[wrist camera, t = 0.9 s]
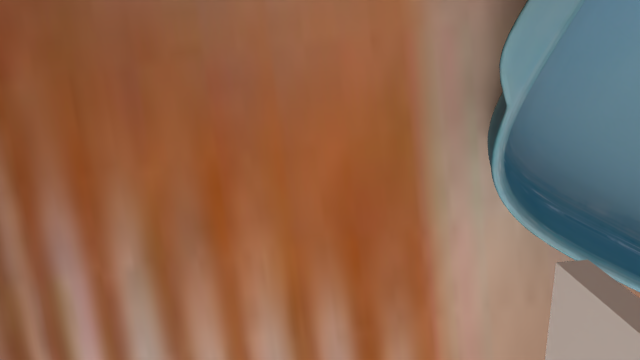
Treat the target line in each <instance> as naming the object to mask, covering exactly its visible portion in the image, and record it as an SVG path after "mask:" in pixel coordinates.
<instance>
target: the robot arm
mask: <svg viewBox="0 0 640 360" xmlns="http://www.w3.org/2000/svg"><path fill="white" fill-rule="evenodd" d="M545 360H640V298H638V297H637V296H636V295H634V294H633V293H632V292H630V291H629V290H628V289H626V288H625V287H624V286H622V285H621V284H620V283H618V282H617V281H616V280H614V279H613V278H612V277H610V276H609V275H608V274H606V273H605V272H604V271H602V270H601V269H600V268H598V267H597V266H596V265H594V264H593V263H592V262H591V261H589V260H578V261H568V262H557V263H556V268H555V277H554V286H553V294H552V303H551V312H550V321H549V330H548V338H547V347H546V356H545Z"/></svg>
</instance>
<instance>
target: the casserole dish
mask: <svg viewBox="0 0 640 360" xmlns="http://www.w3.org/2000/svg"><path fill="white" fill-rule="evenodd" d="M499 66H500V82H501V86H502V90H503V93H502V95H501V97H500V98H499V101H498V103H497V105H496V107H495V109H494V112H493V115H492V118H491V122H490V127H489V131H488V155H489V160H490V165H491V171H492V178H493V182H494V185H495V188H496V190H497V192H498V195H499V197H500V198H501V200H502V202H503V203H504V205H505V206H506V207H507V209H508V210H509V211H510V213H511V214H512V215H513V216H514V217H515V218H516V219H517V220H518V221H519V222H520V223H521V224H522V225H523V226H524V227H525V228H527V229H528V230H529V231H530V232H531V233H533V234H534V235H536V236H537V237H538V238H540V239H541V240H543V241H544V242H546V243H547V244H549V245H550V246H552V247H553V248H555V249H557V250H559V251H560V252H562V253H564V254H565V255H567V256H569V257H570V258H572V259H574V260H576V261H578V260H589V261H591V262H592V263H593V264H594V265H596V266H597V267H598V268H600V269H601V270H602V271H604V272H605V273H606V274H608V275H609V276H610V277H612V278H613V279H614V280H616V281H618V282H620V283H622V284H624V285H626V286H628V287H630V288H632V289H634V290H636V291H638V292H640V0H528V1H527V2H526V4H525V6H524V7H523V9H522V11H521V13H520V14H519V16H518V18H517V20H516V21H515V23H514V25H513V27H512V29H511V31H510V33H509V35H508V37H507V39H506V42H505V44H504V47H503V50H502V54H501V58H500V64H499Z"/></svg>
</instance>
